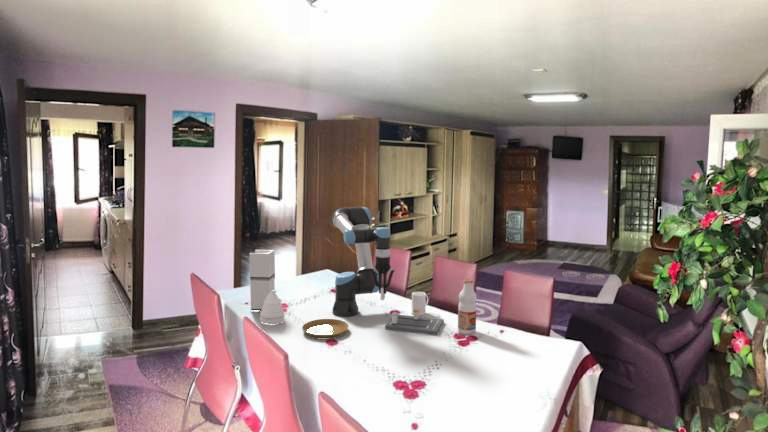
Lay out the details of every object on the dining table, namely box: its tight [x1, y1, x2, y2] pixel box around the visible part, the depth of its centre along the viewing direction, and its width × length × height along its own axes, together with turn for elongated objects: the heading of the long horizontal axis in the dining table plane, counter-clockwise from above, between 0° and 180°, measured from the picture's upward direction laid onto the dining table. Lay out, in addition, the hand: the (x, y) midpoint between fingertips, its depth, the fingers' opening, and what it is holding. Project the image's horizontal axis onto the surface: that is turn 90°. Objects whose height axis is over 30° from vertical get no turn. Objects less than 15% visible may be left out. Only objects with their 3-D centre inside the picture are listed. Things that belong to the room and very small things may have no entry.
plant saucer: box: [301, 318, 349, 339], centre depth 275 cm, size 24×24×3 cm
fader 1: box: [391, 311, 399, 324], centre depth 283 cm, size 3×3×5 cm
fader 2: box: [413, 308, 420, 320], centre depth 289 cm, size 3×3×5 cm
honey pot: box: [260, 289, 285, 325], centre depth 290 cm, size 13×13×18 cm
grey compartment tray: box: [384, 314, 445, 336], centre depth 285 cm, size 28×20×2 cm
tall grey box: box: [249, 249, 276, 311], centre depth 309 cm, size 11×11×35 cm
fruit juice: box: [457, 278, 477, 335], centre depth 275 cm, size 9×9×28 cm
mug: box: [410, 291, 429, 317], centre depth 307 cm, size 12×8×12 cm
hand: (382, 299), depth 283 cm, fingers closed
